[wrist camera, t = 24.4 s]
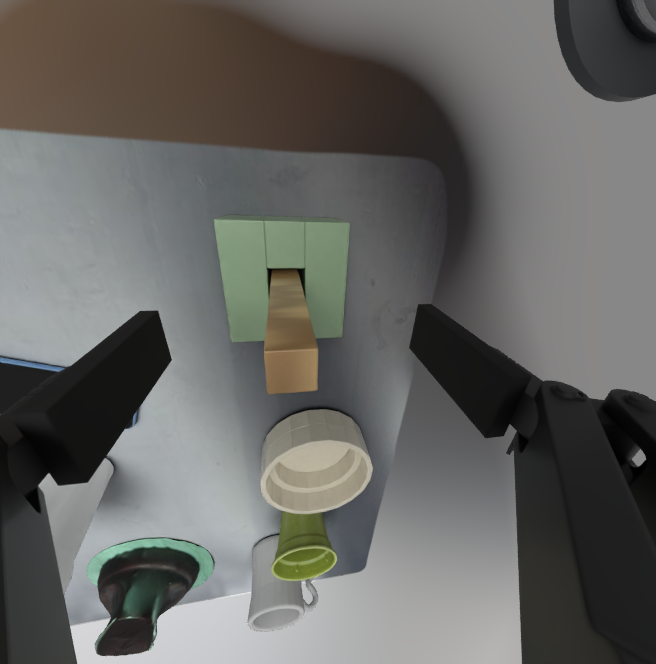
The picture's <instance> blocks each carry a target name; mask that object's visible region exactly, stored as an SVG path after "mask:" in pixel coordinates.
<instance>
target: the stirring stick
mask: <svg viewBox="0 0 656 664" xmlns="http://www.w3.org/2000/svg"><path fill="white" fill-rule="evenodd" d="M264 362H265V374H266V385H267V393H268V394H281V393H293V392H306V391H316V390H317V387H318V346H317V342H316V338H315V335H314V331H313V327H312V323H311V319H310V315H309V311H308V308H307V304H306V300H305V296H304V292H303V288H302V284H301V280H300V277H299V273H298V269H297V268H272V276H271V285H270V295H269V305H268V315H267V324H266V334H265V344H264Z"/></svg>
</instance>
